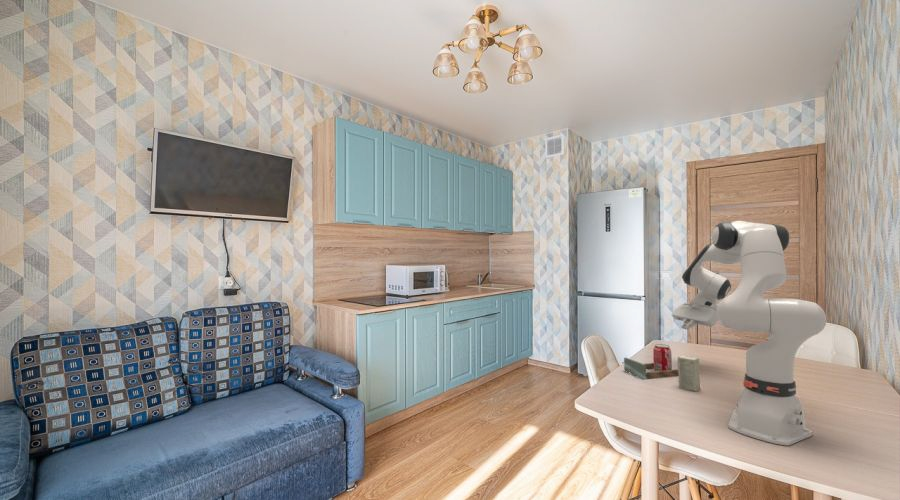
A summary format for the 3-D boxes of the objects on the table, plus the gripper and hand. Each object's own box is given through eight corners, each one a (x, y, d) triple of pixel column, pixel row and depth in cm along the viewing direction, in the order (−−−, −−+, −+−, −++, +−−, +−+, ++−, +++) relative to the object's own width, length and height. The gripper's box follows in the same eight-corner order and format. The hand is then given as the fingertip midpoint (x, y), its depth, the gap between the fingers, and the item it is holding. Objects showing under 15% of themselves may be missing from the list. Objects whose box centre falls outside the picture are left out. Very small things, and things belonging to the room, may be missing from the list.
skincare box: (700, 389, 143) (699, 358, 143) (695, 391, 140) (695, 360, 140) (682, 384, 148) (682, 354, 148) (677, 387, 145) (677, 356, 146)
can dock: (657, 367, 171) (657, 354, 171) (679, 375, 159) (679, 361, 159) (624, 370, 166) (624, 357, 167) (644, 379, 155) (643, 365, 155)
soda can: (672, 371, 165) (671, 344, 166) (671, 375, 159) (671, 348, 160) (654, 368, 169) (653, 342, 169) (653, 373, 163) (652, 346, 163)
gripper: (678, 298, 180) (662, 319, 177) (717, 304, 160) (700, 328, 157) (686, 307, 181) (670, 328, 178) (726, 314, 161) (708, 337, 158)
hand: (684, 328), depth 168 cm, fingers closed
